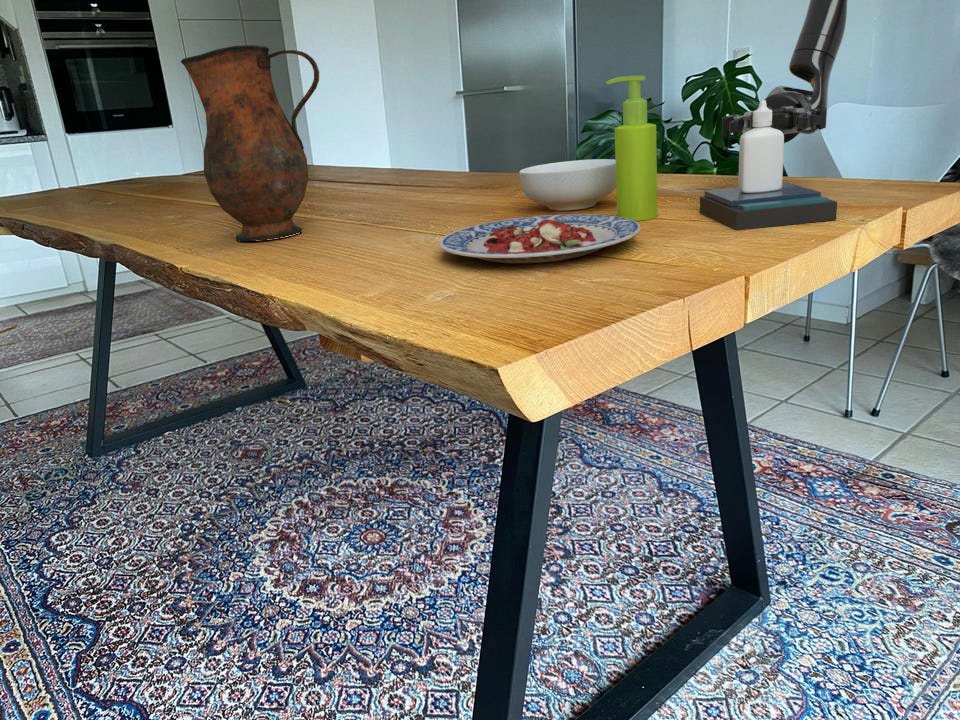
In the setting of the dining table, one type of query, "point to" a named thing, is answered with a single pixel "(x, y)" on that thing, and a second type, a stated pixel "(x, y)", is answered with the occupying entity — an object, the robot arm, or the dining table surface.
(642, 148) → the soap dispenser
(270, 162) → the pitcher
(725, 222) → the scale
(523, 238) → the ceramic plate
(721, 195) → the scale plate
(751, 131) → the eye dropper bottle
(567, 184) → the cereal bowl
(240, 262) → the dining table surface
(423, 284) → the dining table surface
